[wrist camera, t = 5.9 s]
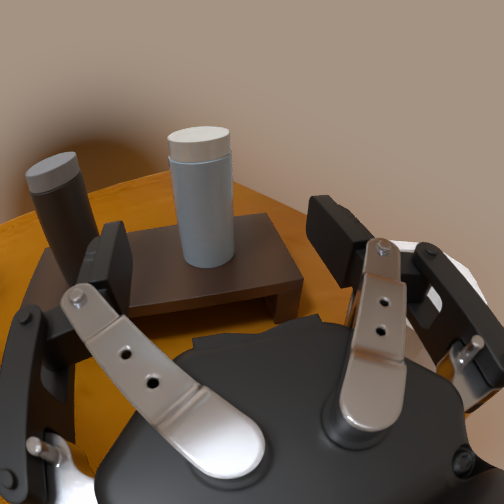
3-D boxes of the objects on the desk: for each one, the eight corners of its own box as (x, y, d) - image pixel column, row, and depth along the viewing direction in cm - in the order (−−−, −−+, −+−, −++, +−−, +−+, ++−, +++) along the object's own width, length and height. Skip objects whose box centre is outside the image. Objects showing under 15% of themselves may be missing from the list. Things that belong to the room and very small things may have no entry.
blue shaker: (184, 272, 22) (164, 146, 16) (181, 240, 25) (166, 130, 19) (240, 263, 23) (237, 138, 17) (229, 233, 26) (225, 123, 20)
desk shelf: (42, 354, 20) (15, 319, 17) (61, 282, 27) (45, 247, 24) (296, 319, 25) (304, 278, 21) (265, 251, 32) (266, 212, 29)
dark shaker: (60, 290, 20) (14, 182, 14) (71, 258, 23) (38, 159, 17) (105, 284, 21) (65, 166, 14) (112, 251, 24) (84, 146, 18)
